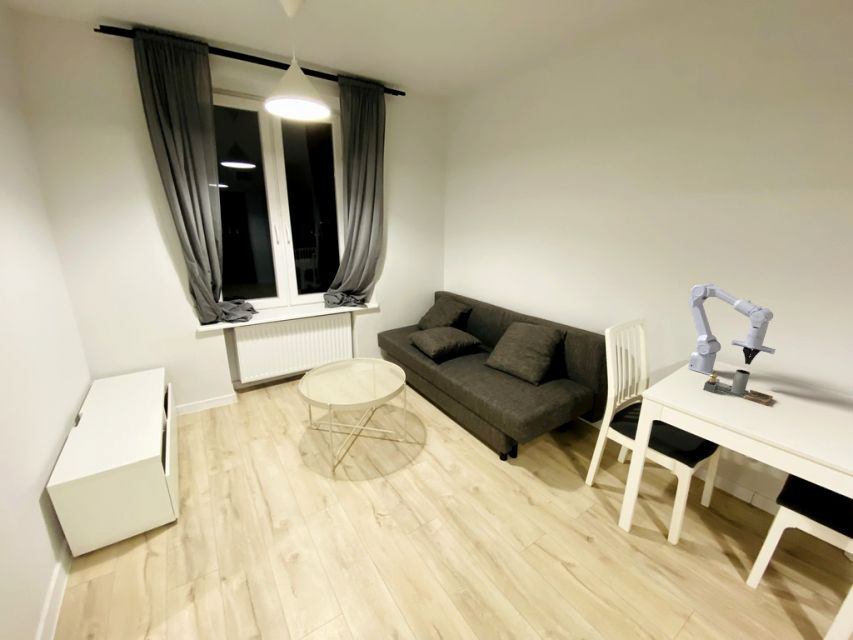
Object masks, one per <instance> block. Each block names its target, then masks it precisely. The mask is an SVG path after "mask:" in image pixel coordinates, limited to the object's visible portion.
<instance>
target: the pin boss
mask: <svg viewBox="0 0 853 640" xmlns="http://www.w3.org/2000/svg"><path fill="white" fill-rule="evenodd" d="M717 386H718V383H715V384H714V385H712V384H709V380H707V381H706V382H704V386H703V391H706V392H709V393H712V394H714V393H716V391H718V390H717Z"/></svg>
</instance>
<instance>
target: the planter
mask: <svg viewBox="0 0 853 640" xmlns="http://www.w3.org/2000/svg"><path fill="white" fill-rule="evenodd" d="M750 375H751V371H747V370H744V369H736V370H735V374H734V378H733V381H732V385H731V386H732V388H730V392H733V393H736V394H739V395H742V396H745V395H744V394H745V393H746V392H745V390H747V386H748V382H749V378H750Z"/></svg>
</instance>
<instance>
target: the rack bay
mask: <svg viewBox="0 0 853 640" xmlns="http://www.w3.org/2000/svg"><path fill="white" fill-rule="evenodd" d="M749 394H750V395H747V394H745V395H744V398H743V399H744V400H747V401H751V402H753V403H757V404H759V405H762V406H765V407H766V406H768V405H769V404H770V402H771V401H773V398H774V396H773V395H770V394H767V393H764V392H760V391H757V390H753V389H750V390H749ZM751 395H753V396H757V397H761V398H763V399H760V398H756V397H753V396H751ZM764 399H766V400H764Z"/></svg>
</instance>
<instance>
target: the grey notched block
mask: <svg viewBox="0 0 853 640" xmlns="http://www.w3.org/2000/svg"><path fill="white" fill-rule="evenodd" d="M709 380H710V378H709V379H708V381H709ZM720 381H721V379H719V378H716V380H715V383H718V386H717V388H720V389H723V390H726V391H729V390H730V389H731V388H730V385H731V384H727V385H726V383H724V382H721V383H720ZM723 383H724V384H723Z"/></svg>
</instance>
